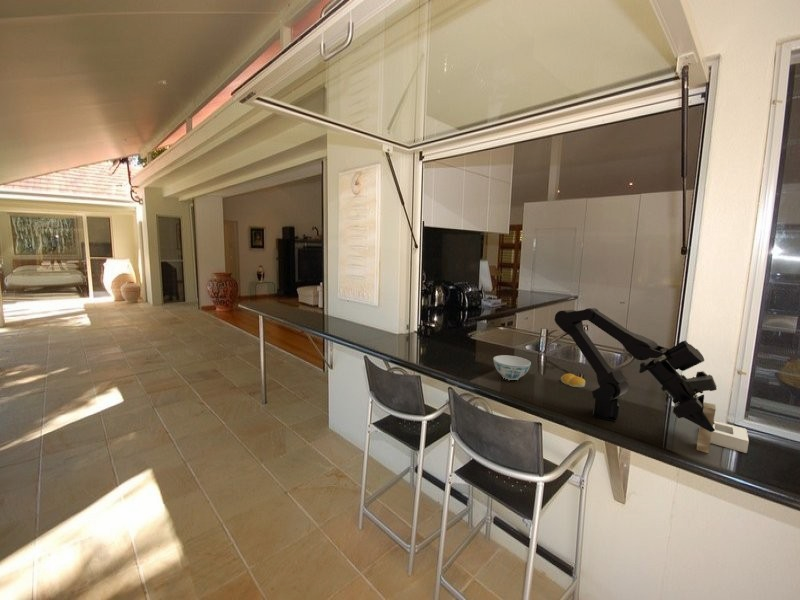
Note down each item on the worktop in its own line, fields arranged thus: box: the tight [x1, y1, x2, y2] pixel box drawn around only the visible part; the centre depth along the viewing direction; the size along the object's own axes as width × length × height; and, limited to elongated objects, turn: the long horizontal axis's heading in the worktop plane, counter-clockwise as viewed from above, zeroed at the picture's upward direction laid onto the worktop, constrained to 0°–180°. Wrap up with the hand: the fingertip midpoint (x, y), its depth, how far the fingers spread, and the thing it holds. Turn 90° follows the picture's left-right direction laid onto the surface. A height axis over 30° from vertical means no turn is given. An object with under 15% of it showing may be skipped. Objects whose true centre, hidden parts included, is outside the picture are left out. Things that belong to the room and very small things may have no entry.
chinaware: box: [493, 354, 532, 381], centre depth 150 cm, size 15×15×8 cm
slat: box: [696, 401, 717, 454], centre depth 98 cm, size 2×4×12 cm, turn 139°
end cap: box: [710, 420, 750, 454], centre depth 104 cm, size 10×10×4 cm
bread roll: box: [560, 373, 586, 388], centre depth 147 cm, size 8×9×4 cm
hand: (712, 427), depth 97 cm, fingers open, 5 cm apart
